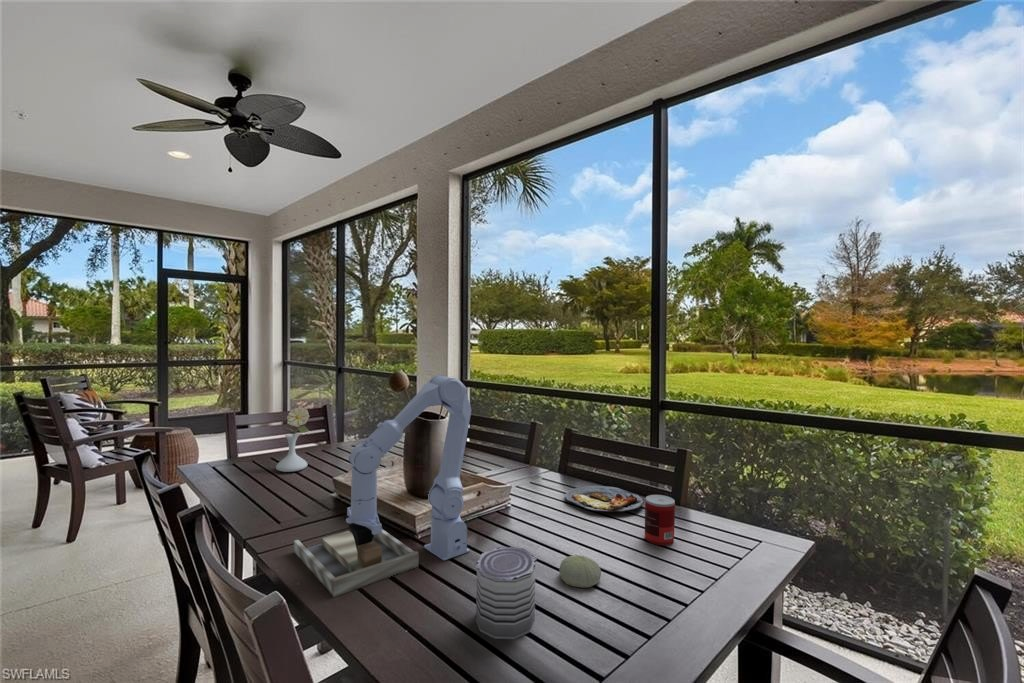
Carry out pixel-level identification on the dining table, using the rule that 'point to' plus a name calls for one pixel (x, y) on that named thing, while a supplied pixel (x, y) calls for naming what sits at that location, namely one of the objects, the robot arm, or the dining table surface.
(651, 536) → the canned food
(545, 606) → the dining table surface
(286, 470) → the flower in vase
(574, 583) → the sea urchin shell
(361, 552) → the walnut cube
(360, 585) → the box
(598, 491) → the food plate
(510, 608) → the can
